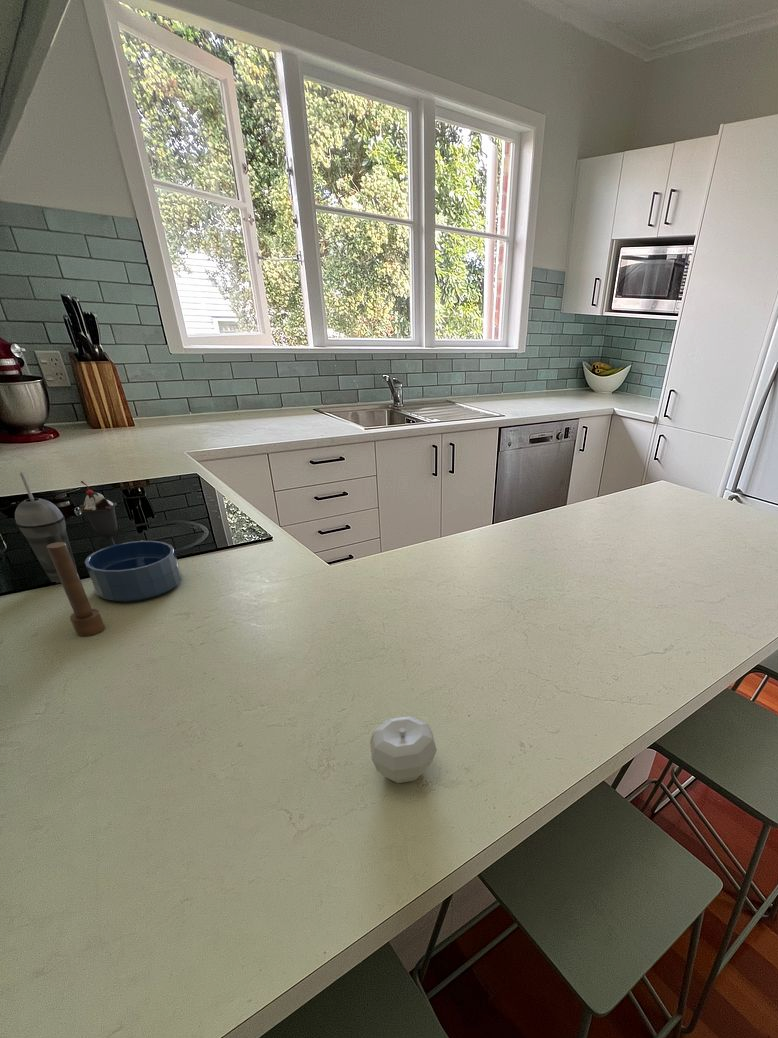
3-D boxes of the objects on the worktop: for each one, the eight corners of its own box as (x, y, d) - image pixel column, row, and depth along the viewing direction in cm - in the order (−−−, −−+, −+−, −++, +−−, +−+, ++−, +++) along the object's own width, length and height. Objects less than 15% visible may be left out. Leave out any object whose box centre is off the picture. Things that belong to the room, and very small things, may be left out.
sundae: (100, 547, 118) (75, 478, 110) (134, 544, 120) (112, 476, 112) (91, 559, 113) (64, 487, 105) (128, 556, 115) (104, 485, 107)
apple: (416, 739, 70) (414, 699, 66) (450, 777, 64) (450, 735, 61) (359, 765, 65) (354, 724, 62) (391, 807, 60) (387, 765, 57)
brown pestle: (71, 636, 88) (33, 550, 80) (84, 624, 91) (49, 539, 83) (97, 636, 88) (62, 550, 80) (109, 624, 91) (77, 540, 83)
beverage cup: (42, 589, 101) (-6, 482, 90) (40, 575, 106) (-5, 471, 95) (88, 580, 104) (47, 476, 94) (84, 567, 109) (45, 466, 99)
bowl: (81, 604, 96) (67, 571, 93) (120, 571, 108) (109, 540, 105) (164, 604, 98) (154, 571, 94) (193, 571, 110) (185, 540, 106)
